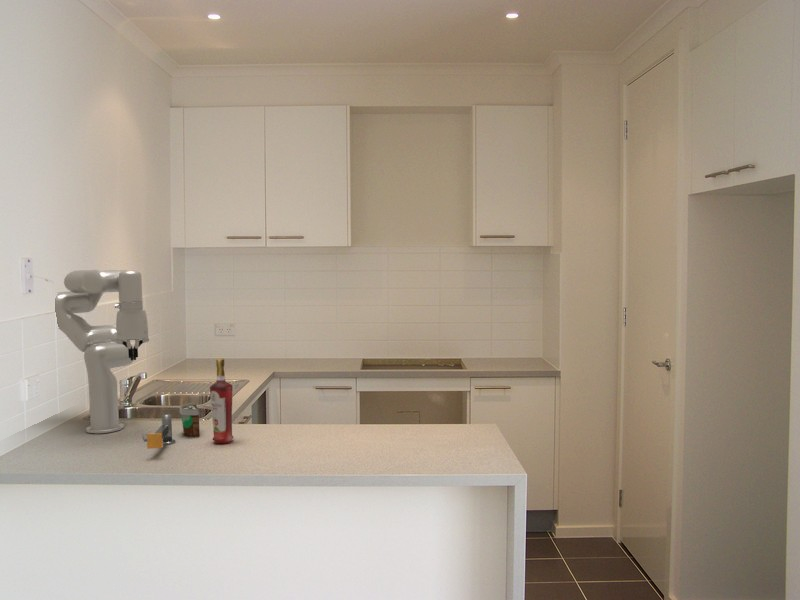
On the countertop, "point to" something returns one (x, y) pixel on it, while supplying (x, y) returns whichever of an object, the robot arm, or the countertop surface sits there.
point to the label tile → (145, 437)
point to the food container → (190, 420)
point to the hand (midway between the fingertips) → (133, 359)
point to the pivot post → (167, 421)
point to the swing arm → (157, 437)
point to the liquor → (221, 406)
